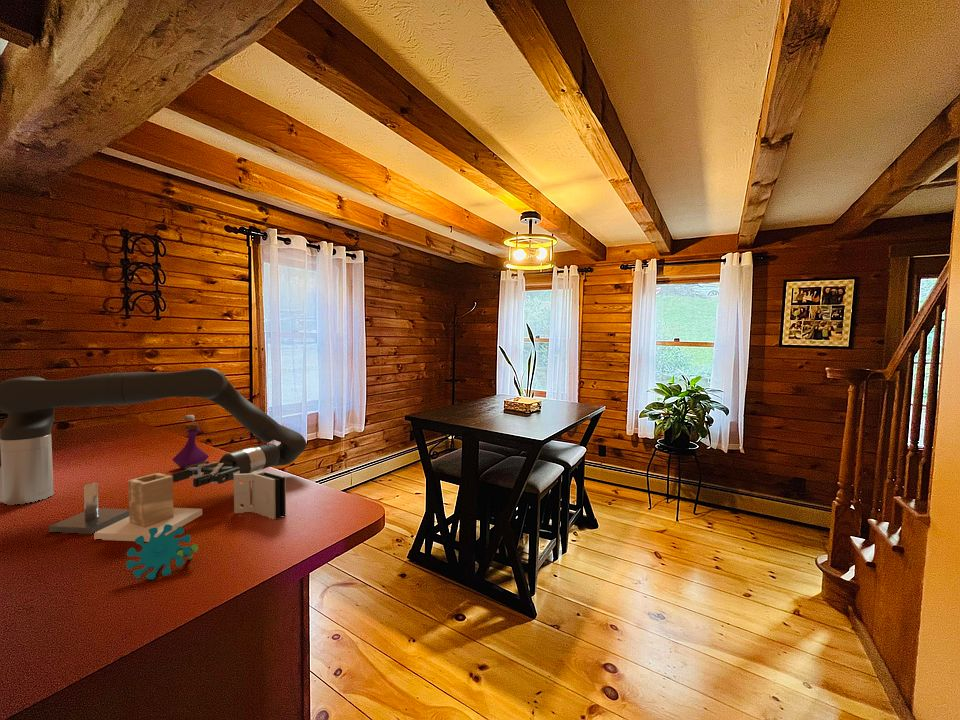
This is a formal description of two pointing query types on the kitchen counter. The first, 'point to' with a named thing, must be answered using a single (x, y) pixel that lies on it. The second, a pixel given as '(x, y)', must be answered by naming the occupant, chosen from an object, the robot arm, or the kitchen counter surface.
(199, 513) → the board
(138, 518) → the sleeve
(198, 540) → the kitchen counter surface
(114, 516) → the stand
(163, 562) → the gear
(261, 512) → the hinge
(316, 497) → the kitchen counter surface
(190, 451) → the perfume bottle
